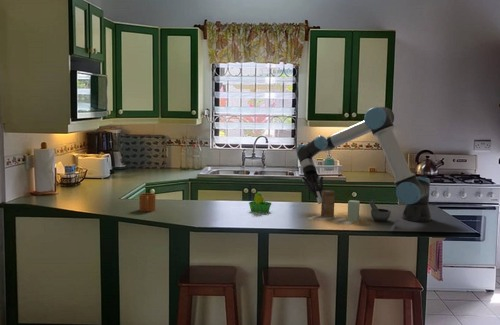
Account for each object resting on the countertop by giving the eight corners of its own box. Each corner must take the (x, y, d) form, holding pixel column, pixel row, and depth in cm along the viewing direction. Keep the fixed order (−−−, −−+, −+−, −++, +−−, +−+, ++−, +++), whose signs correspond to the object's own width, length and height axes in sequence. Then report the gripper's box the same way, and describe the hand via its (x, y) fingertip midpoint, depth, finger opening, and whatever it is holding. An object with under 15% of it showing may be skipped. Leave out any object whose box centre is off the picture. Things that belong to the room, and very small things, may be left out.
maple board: (360, 222, 277) (360, 220, 277) (350, 227, 265) (350, 224, 265) (318, 216, 289) (318, 214, 289) (307, 221, 278) (307, 218, 277)
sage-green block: (358, 219, 277) (359, 200, 276) (357, 221, 272) (357, 202, 271) (349, 218, 279) (350, 200, 278) (347, 220, 274) (348, 201, 273)
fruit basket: (271, 211, 302) (272, 191, 301) (265, 214, 294) (266, 193, 293) (253, 209, 307) (254, 189, 306) (247, 211, 299) (247, 192, 298)
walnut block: (321, 216, 284) (321, 190, 282) (329, 215, 285) (330, 190, 284) (325, 218, 279) (326, 191, 278) (333, 217, 281) (334, 191, 279)
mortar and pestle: (388, 222, 281) (389, 199, 279) (391, 225, 271) (392, 202, 270) (367, 220, 282) (368, 198, 281) (368, 224, 273) (369, 201, 272)
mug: (135, 212, 291) (135, 196, 290) (142, 208, 303) (141, 193, 302) (151, 213, 290) (151, 196, 289) (157, 209, 302) (157, 193, 301)
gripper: (316, 172, 309) (328, 206, 295) (296, 172, 305) (307, 206, 291) (321, 164, 303) (333, 198, 289) (300, 164, 299) (311, 198, 285)
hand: (320, 202), depth 290 cm, fingers closed
